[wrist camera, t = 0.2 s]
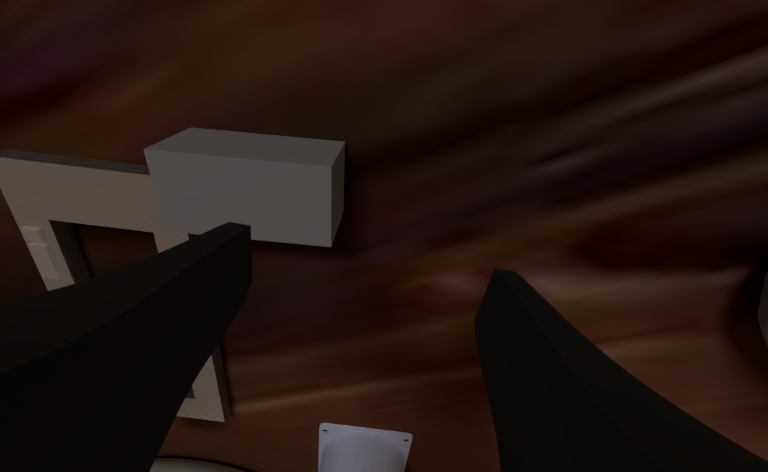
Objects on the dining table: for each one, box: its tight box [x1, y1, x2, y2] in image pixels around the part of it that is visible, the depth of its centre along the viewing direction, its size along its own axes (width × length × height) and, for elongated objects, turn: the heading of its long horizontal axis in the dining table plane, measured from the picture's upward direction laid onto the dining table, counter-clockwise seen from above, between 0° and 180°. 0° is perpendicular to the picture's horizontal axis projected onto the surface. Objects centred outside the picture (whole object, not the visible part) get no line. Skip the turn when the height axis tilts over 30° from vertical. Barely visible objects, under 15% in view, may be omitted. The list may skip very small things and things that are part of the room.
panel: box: [0, 149, 231, 422], centre depth 24 cm, size 21×10×1 cm, turn 174°
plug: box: [144, 128, 345, 247], centre depth 18 cm, size 8×4×4 cm, turn 86°
